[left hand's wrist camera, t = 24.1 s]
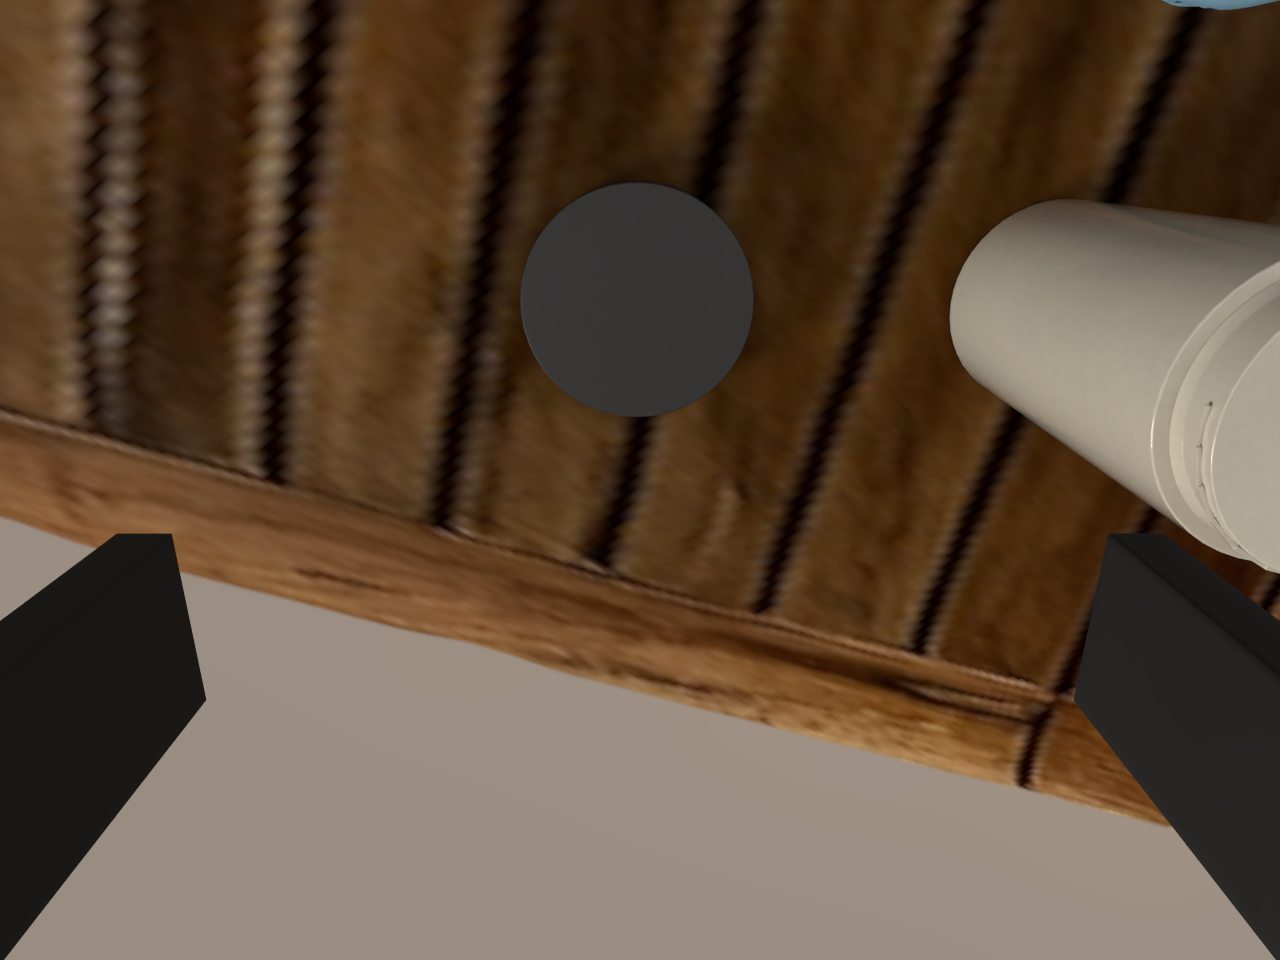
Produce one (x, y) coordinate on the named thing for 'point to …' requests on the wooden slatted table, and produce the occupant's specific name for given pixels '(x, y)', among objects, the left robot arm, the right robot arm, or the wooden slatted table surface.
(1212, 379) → the jar
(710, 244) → the lid
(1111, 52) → the wooden slatted table surface
